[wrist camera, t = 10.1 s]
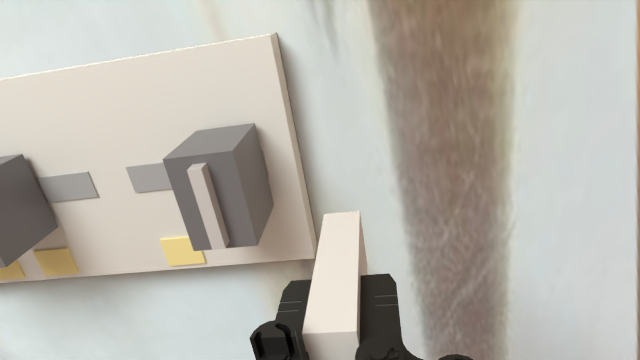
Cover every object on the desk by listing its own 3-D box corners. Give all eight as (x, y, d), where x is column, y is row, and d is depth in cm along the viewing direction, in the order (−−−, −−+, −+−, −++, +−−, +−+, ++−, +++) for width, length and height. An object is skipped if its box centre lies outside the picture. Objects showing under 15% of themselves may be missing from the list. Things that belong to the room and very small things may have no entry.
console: (-64, 275, 37) (-88, 291, 35) (-177, 108, 31) (-214, 115, 29) (317, 243, 32) (314, 259, 30) (276, 32, 26) (269, 35, 24)
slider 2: (219, 210, 29) (188, 259, 24) (196, 130, 26) (155, 164, 21) (274, 205, 28) (254, 253, 23) (254, 122, 26) (227, 156, 21)
